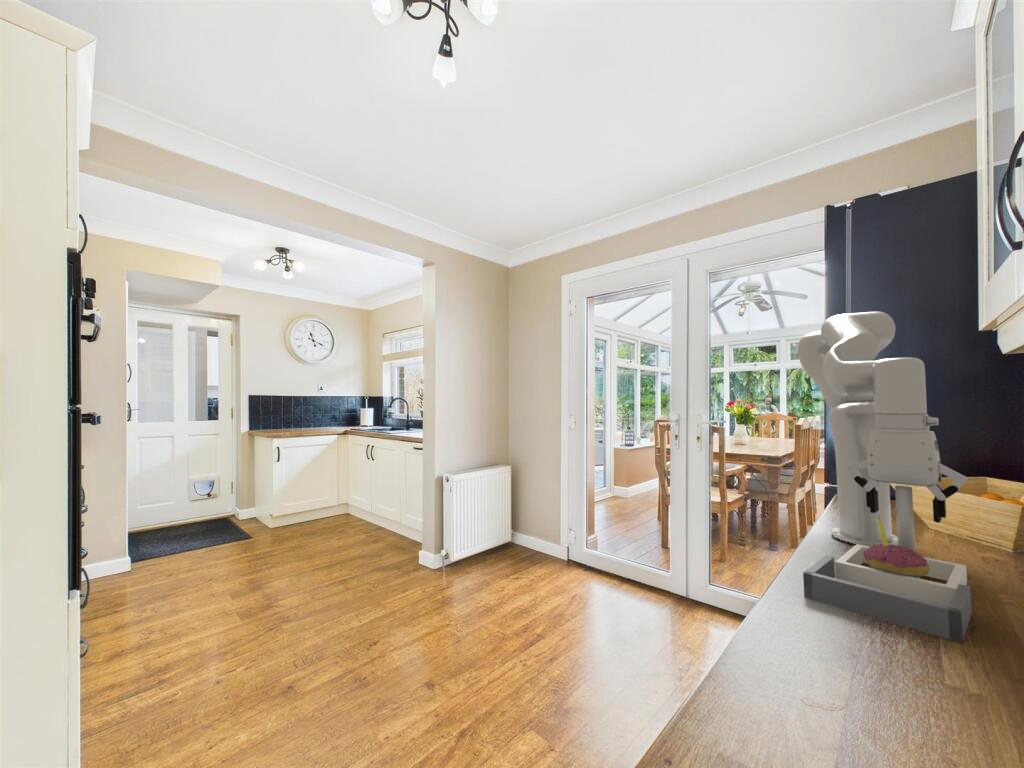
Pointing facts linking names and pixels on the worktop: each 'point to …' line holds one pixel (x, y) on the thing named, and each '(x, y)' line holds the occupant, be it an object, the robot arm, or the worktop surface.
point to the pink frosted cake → (895, 558)
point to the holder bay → (889, 603)
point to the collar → (900, 584)
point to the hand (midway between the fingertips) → (904, 515)
